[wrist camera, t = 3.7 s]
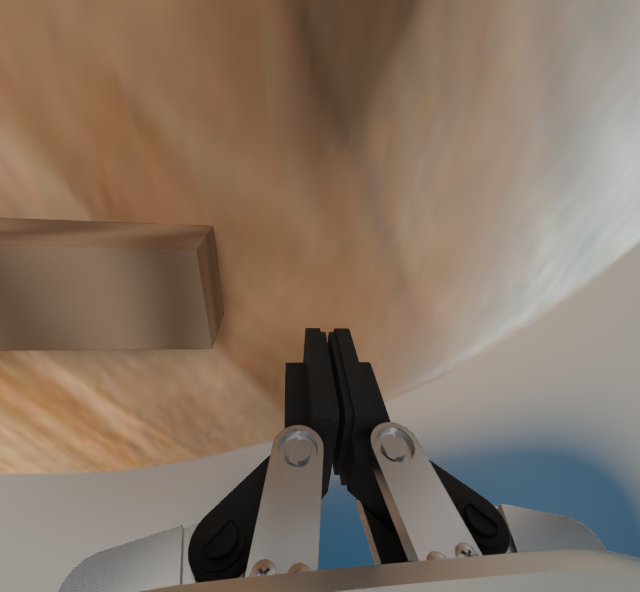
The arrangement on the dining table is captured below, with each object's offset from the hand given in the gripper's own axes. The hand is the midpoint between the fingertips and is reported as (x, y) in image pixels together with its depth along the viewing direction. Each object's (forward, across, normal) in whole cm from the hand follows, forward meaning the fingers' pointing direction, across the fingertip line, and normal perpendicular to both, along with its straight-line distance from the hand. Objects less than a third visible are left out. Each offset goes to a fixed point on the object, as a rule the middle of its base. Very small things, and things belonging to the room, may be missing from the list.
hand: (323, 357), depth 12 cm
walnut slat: (+5, +13, -1) cm, 14 cm away
